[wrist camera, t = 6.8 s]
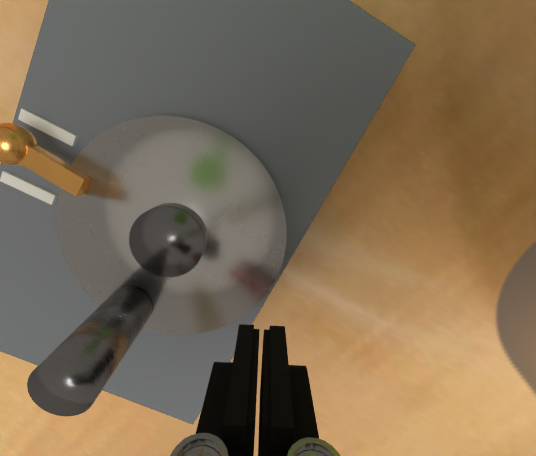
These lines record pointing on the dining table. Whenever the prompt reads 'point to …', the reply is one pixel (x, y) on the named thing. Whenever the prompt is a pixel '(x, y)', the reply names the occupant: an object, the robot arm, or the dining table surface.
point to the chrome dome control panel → (152, 241)
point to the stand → (193, 107)
